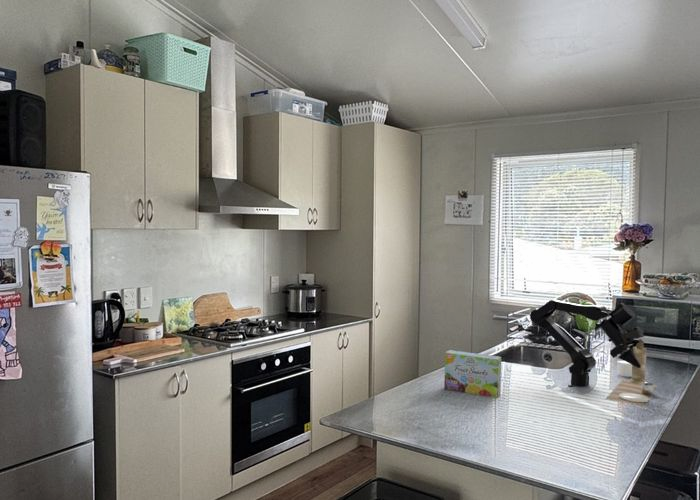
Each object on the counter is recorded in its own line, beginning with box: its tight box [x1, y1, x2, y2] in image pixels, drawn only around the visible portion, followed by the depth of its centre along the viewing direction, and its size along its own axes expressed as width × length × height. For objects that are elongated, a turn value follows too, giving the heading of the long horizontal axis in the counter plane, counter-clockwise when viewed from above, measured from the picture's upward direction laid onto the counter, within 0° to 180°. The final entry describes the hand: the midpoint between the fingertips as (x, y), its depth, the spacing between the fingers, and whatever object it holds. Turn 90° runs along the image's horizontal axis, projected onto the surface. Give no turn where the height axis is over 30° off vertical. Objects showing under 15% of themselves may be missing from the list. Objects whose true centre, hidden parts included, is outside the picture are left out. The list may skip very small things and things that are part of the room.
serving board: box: [605, 380, 657, 407], centre depth 226 cm, size 34×13×1 cm, turn 145°
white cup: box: [616, 359, 632, 378], centre depth 253 cm, size 7×7×7 cm
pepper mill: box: [630, 343, 648, 384], centre depth 218 cm, size 5×5×15 cm
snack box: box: [443, 349, 502, 399], centre depth 225 cm, size 21×6×15 cm, turn 62°
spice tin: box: [641, 380, 655, 396], centre depth 225 cm, size 4×4×4 cm
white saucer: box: [619, 393, 650, 403], centre depth 218 cm, size 10×10×1 cm
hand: (642, 366), depth 217 cm, fingers closed on pepper mill, 5 cm apart
